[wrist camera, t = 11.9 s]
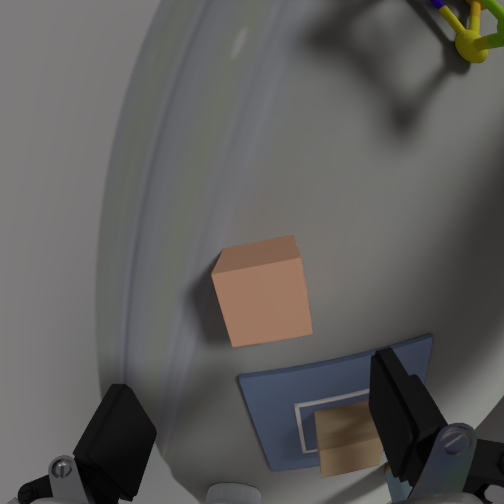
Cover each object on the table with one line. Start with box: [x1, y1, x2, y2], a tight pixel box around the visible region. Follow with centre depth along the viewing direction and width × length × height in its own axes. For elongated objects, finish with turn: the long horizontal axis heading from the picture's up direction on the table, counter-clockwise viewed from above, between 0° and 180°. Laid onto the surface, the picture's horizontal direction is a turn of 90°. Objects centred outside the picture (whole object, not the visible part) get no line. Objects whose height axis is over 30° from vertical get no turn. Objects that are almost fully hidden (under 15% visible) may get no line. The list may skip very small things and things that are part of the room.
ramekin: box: [204, 483, 261, 504], centre depth 30 cm, size 9×9×4 cm
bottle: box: [384, 464, 412, 503], centre depth 22 cm, size 7×7×15 cm
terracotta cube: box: [211, 235, 313, 347], centre depth 19 cm, size 5×5×5 cm
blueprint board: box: [239, 334, 433, 472], centre depth 25 cm, size 18×18×1 cm
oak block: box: [314, 400, 383, 478], centre depth 23 cm, size 6×6×5 cm
